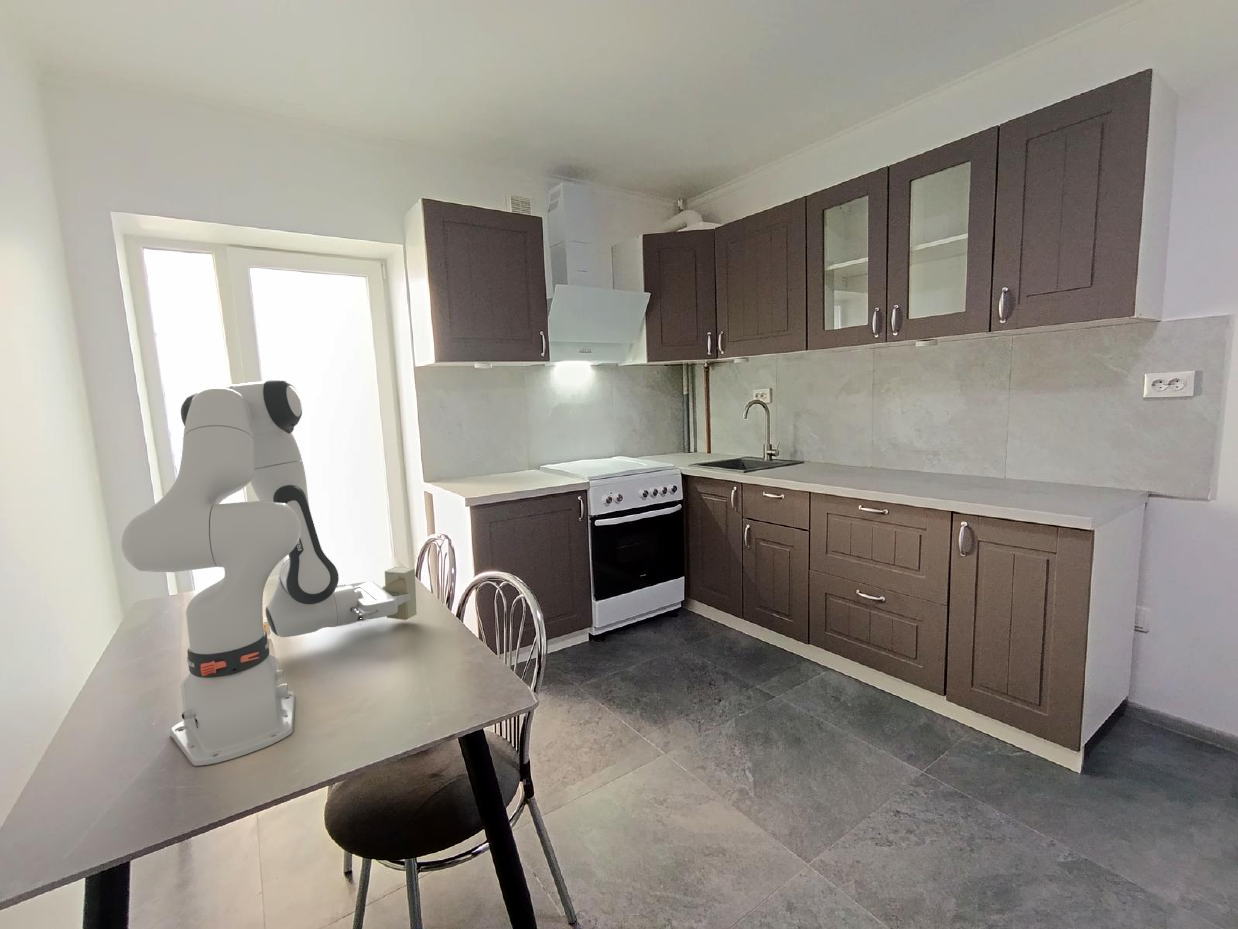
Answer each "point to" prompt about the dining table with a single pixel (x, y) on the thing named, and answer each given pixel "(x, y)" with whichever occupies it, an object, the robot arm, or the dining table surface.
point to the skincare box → (402, 590)
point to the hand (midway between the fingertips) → (404, 592)
